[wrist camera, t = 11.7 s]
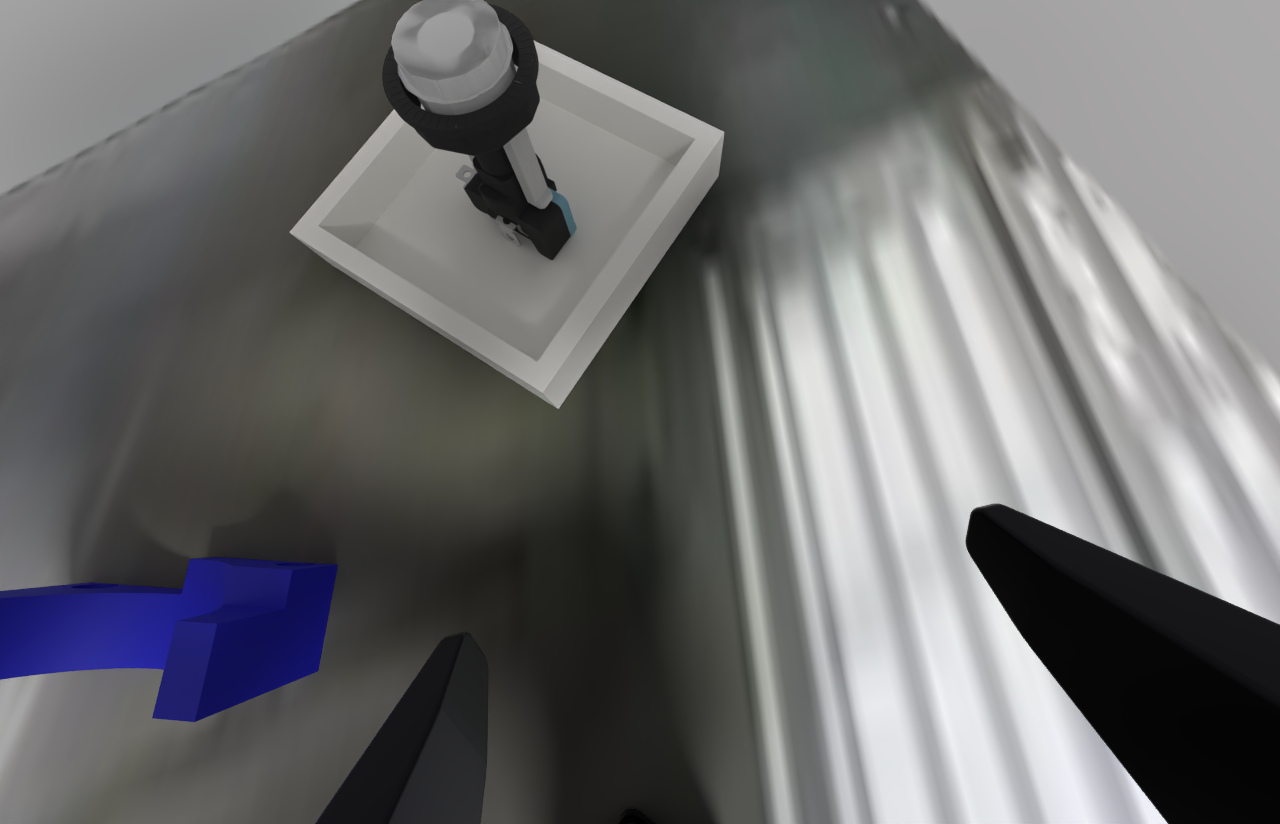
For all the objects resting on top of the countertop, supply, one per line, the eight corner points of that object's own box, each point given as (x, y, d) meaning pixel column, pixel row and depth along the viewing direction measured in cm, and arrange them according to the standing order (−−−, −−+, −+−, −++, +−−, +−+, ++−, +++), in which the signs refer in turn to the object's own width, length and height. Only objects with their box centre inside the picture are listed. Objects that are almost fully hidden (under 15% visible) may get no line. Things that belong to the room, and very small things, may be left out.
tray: (558, 409, 24) (542, 392, 21) (331, 265, 26) (289, 232, 23) (718, 176, 26) (724, 132, 23) (496, 65, 29) (476, 12, 26)
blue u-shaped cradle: (340, 564, 23) (227, 577, 17) (321, 669, 22) (194, 721, 16) (104, 549, 24) (-81, 557, 18) (75, 650, 23) (-131, 693, 17)
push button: (441, 226, 26) (302, 44, 16) (501, 151, 27) (404, -65, 17) (542, 287, 25) (458, 131, 15) (602, 207, 25) (560, 9, 16)
